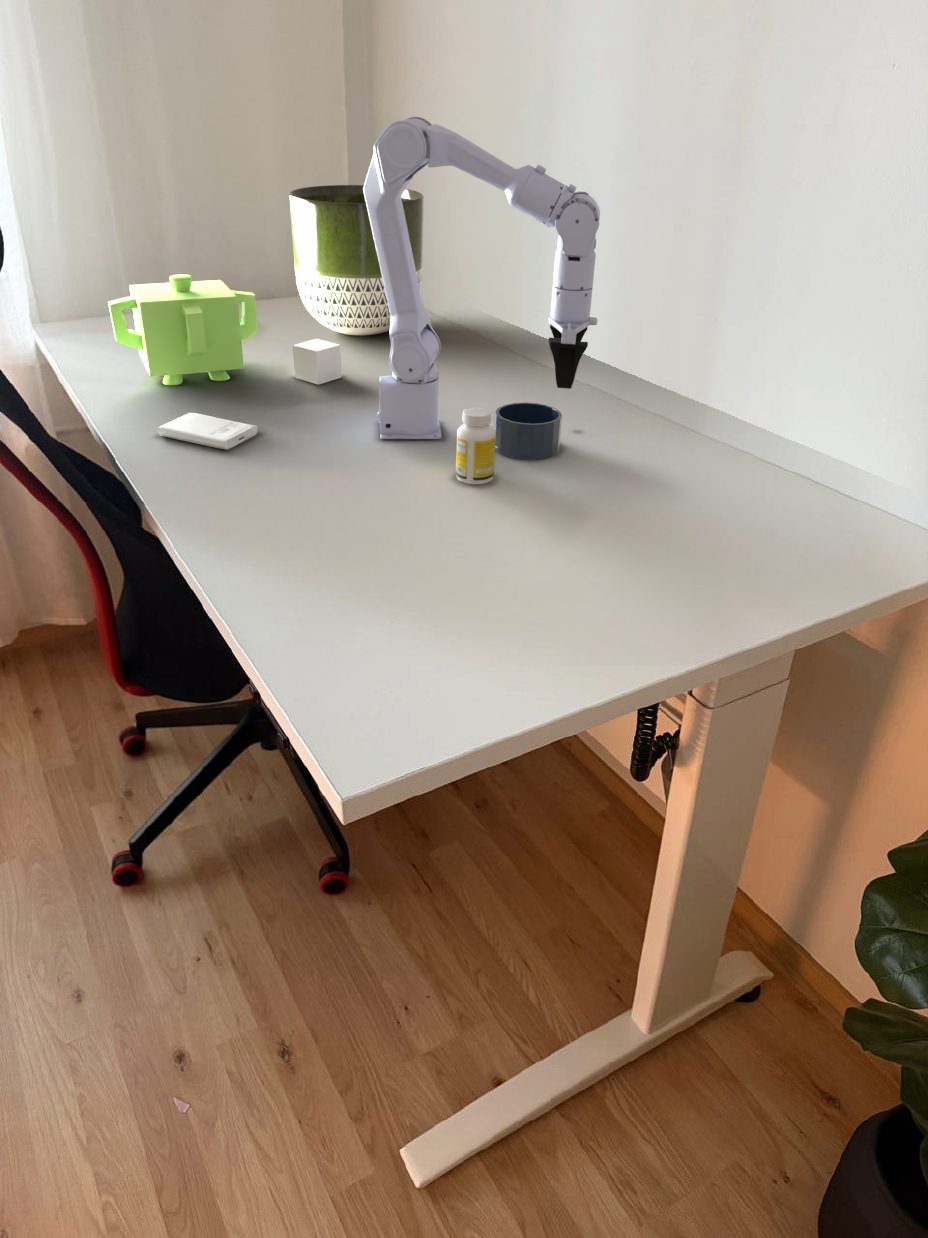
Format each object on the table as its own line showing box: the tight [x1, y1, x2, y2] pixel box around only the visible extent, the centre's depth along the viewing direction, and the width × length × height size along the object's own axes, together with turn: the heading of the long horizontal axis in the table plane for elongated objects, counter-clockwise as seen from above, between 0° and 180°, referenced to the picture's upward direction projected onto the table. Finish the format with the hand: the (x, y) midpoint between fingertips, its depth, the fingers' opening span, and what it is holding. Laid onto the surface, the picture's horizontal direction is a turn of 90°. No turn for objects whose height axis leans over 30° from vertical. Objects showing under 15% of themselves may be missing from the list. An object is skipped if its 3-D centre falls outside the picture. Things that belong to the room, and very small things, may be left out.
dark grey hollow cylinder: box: [494, 402, 563, 461], centre depth 145 cm, size 10×10×6 cm
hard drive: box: [158, 412, 258, 451], centre depth 146 cm, size 2×8×12 cm
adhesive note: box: [292, 338, 342, 385], centre depth 172 cm, size 6×6×6 cm
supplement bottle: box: [455, 406, 496, 485], centre depth 133 cm, size 5×5×10 cm
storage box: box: [107, 273, 259, 386], centre depth 169 cm, size 25×23×17 cm
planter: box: [288, 184, 425, 336], centre depth 195 cm, size 27×27×27 cm
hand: (564, 379), depth 143 cm, fingers open, 7 cm apart
